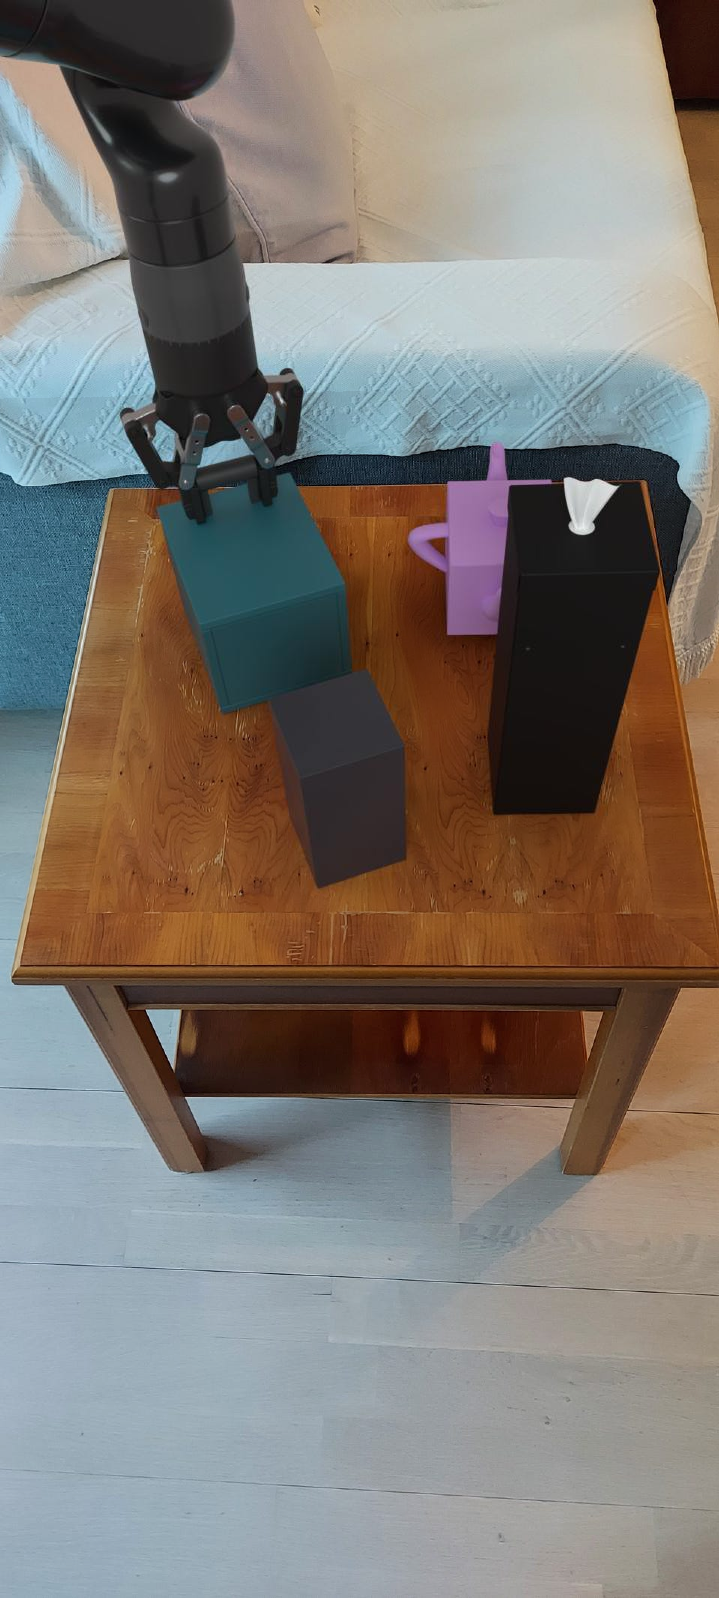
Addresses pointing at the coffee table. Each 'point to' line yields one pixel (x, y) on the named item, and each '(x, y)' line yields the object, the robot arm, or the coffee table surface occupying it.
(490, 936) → the coffee table surface
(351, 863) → the stand
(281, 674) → the wipes case
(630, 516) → the tissue box
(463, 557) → the teapot
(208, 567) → the case lid
